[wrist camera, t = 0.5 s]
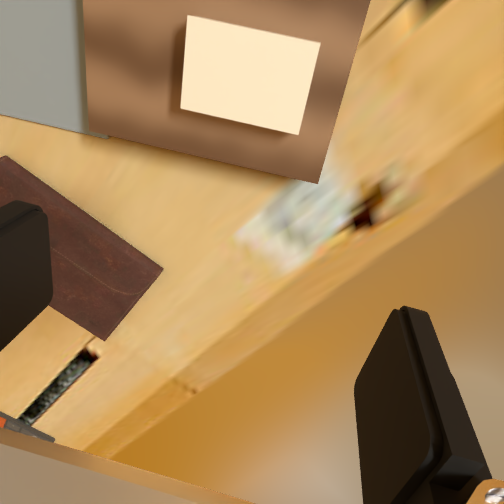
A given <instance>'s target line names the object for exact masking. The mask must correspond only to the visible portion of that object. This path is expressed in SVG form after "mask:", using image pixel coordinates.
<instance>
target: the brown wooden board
mask: <svg viewBox="0 0 504 504" xmlns="http://www.w3.org/2000/svg"><path fill="white" fill-rule="evenodd" d="M369 4H370V0H83V17H84V38H85V59H86V80H87V101H88V122H89V131H91V132H96V133H100V134H104V135H109V136H113V137H117V138H121V139H126V140H130V141H134V142H139V143H143V144H147V145H152V146H156V147H160V148H165V149H169V150H173V151H177V152H182V153H186V154H190V155H195V156H199V157H203V158H208V159H212V160H216V161H221V162H225V163H229V164H233V165H238V166H242V167H246V168H251V169H255V170H259V171H264V172H268V173H272V174H277V175H281V176H285V177H290V178H294V179H298V180H302V181H307V182H311V183H315V184H318V181H319V178H320V174H321V171H322V167H323V164H324V160H325V157H326V153H327V150H328V146H329V143H330V139H331V136H332V133H333V129H334V126H335V122H336V119H337V115H338V112H339V108H340V105H341V101H342V98H343V94H344V91H345V87H346V84H347V80H348V77H349V73H350V70H351V66H352V63H353V59H354V56H355V52H356V49H357V45H358V42H359V38H360V35H361V31H362V28H363V25H364V21H365V18H366V14H367V11H368V7H369ZM187 15H191V16H199V17H203V18H208V19H213V20H217V21H222V22H227V23H231V24H236V25H241V26H245V27H250V28H255V29H260V30H264V31H269V32H274V33H278V34H283V35H288V36H292V37H297V38H302V39H306V40H311V41H316V42H321V44H320V48H319V52H318V56H317V60H316V65H315V69H314V73H313V77H312V81H311V85H310V89H309V94H308V98H307V102H306V106H305V110H304V114H303V118H302V123H301V127H300V131H299V135H296V134H291V133H287V132H282V131H278V130H273V129H269V128H265V127H260V126H256V125H251V124H247V123H242V122H238V121H234V120H229V119H225V118H220V117H216V116H212V115H207V114H203V113H198V112H194V111H189V110H185V109H181V108H180V107H181V94H182V81H183V68H184V54H185V41H186V28H187Z"/></svg>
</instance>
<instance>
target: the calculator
mask: <svg viewBox="0 0 504 504" xmlns="http://www.w3.org/2000/svg"><path fill="white" fill-rule="evenodd" d="M0 427H1V428H5V429H8V430H12V431H15V432H18V433H22V434H25V435H29V436H32V437H35V438H39V439H42V440H45V441H49V442H52V443H53V442H54V441H55V439H54V438H53V437H51V436H49V435H47V434H45V433H43V432H41V431H39V430H37V429H35V428H33V427H31V426H29V425H27V424H25V423H23V422H20V421H18V420H16V419H14V418H12V417H10V416H8V415H6V414H4V413H2V412H0Z"/></svg>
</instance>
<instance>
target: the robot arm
mask: <svg viewBox="0 0 504 504" xmlns="http://www.w3.org/2000/svg"><path fill="white" fill-rule="evenodd" d="M52 297H53V281H52V267H51V253H50V240H49V226H48V217H47V215H46V214H45V213H43V210H42V208H41V207H40V206H38V205H35V204H31V203H27V202H24V201H20V200H14V201H12V202H10V203H8V204H6V205H4V206H2V207H0V351H1V350H2V349H4V348H5V347H6V346H7V345H8V344H9V343H10V342H11V341H12V340H13V339H14V338H15V337H16V336H17V335H18V334H19V333H20V332H21V331H22V330H23V329H24V328H25V327H26V326H27V325H28V324H29V323H30V322H32V321H33V320H34V319H35V318H36V317H37V316H38V315H39V314H40V313H41V312H42V311H43V310H44V309H45V308H46V307H47V306H48V305H49V304H50V302H51V300H52ZM354 397H355V410H356V422H357V433H358V446H359V458H360V470H361V482H362V494H363V504H504V481H502V480H497V479H492V476H491V473H490V471H489V468H488V466H487V463H486V460H485V458H484V455H483V453H482V450H481V447H480V445H479V442H478V439H477V437H476V434H475V431H474V429H473V426H472V424H471V421H470V418H469V416H468V413H467V410H466V408H465V405H464V403H463V400H462V397H461V395H460V392H459V389H458V387H457V384H456V382H455V379H454V377H453V376H452V374H451V372H450V370H449V367H448V364H447V362H446V359H445V356H444V354H443V351H442V349H441V346H440V343H439V341H438V338H437V335H436V333H435V330H434V327H433V325H432V322H431V320H430V317H429V315H428V313H427V312H425V311H422V310H418V309H414V308H411V307H407V306H402V307H401V308H400V310H397V309H394V310H393V311H392V312H391V314H390V315H389V318H388V319H387V322H386V323H385V326H384V327H383V329H382V331H381V333H380V335H379V337H378V339H377V341H376V342H375V344H374V346H373V348H372V350H371V352H370V354H369V356H368V358H367V360H366V362H365V363H364V365H363V367H362V369H361V371H360V373H359V375H358V377H357V379H356V382H355V386H354ZM0 504H255V503H252V502H249V501H246V500H242V499H239V498H236V497H232V496H229V495H226V494H223V493H219V492H216V491H212V490H209V489H206V488H203V487H199V486H196V485H193V484H189V483H186V482H183V481H180V480H176V479H173V478H170V477H166V476H163V475H160V474H156V473H153V472H150V471H146V470H143V469H139V468H136V467H132V466H129V465H126V464H123V463H120V462H116V461H113V460H109V459H106V458H103V457H99V456H96V455H93V454H89V453H86V452H83V451H79V450H76V449H72V448H69V447H66V446H62V445H59V444H56V443H52V442H49V441H45V440H42V439H39V438H35V437H32V436H29V435H25V434H22V433H18V432H15V431H12V430H8V429H5V428H1V427H0Z"/></svg>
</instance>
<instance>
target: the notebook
mask: <svg viewBox="0 0 504 504" xmlns="http://www.w3.org/2000/svg"><path fill="white" fill-rule="evenodd" d="M14 200H20V201H24V202H27V203H31V204H35V205H38V206H40V207H41V208H42V210H43V213H45V214H46V215H47V217H48V226H49V240H50V253H51V267H52V281H53V297H52V300H51V302H50V304H49V306H51V307H52V308H54V309H55V310H57V311H58V312H60V313H61V314H63V315H64V316H66V317H68V318H69V319H71V320H72V321H74V322H75V323H77V324H78V325H80V326H81V327H83V328H85V329H86V330H88V331H89V332H91V333H92V334H94V335H95V336H97V337H98V338H100V339H101V340H103V341H105V340H106V339H107V338H108V337H109V336H110V334H111V333H112V332H113V331H114V330H115V328H116V327H117V326H118V325H119V323H120V322H121V321H122V320H123V319H124V317H125V316H126V315H127V314H128V313H129V311H130V310H131V309H132V308H133V307H134V305H135V304H136V303H137V302H138V300H139V299H140V298H141V297H142V296H143V294H144V293H145V292H146V291H147V290H148V289H149V287H150V286H151V285H152V284H153V282H154V281H155V280H156V279H157V278H158V276H159V275H160V274H161V272H162V271H163V268H162V267H161V266H159V265H158V264H156V263H155V262H154V261H152V260H151V259H150V258H148V257H147V256H145V255H144V254H143V253H141V252H140V251H138V250H137V249H136V248H134V247H133V246H131V245H130V244H129V243H127V242H126V241H125V240H123V239H122V238H120V237H119V236H118V235H116V234H115V233H113V232H112V231H111V230H109V229H108V228H106V227H105V226H104V225H102V224H101V223H99V222H98V221H97V220H95V219H94V218H93V217H91V216H90V215H88V214H87V213H86V212H84V211H83V210H81V209H80V208H79V207H77V206H76V205H74V204H73V203H72V202H70V201H69V200H67V199H66V198H65V197H63V196H62V195H61V194H59V193H58V192H56V191H55V190H54V189H52V188H51V187H49V186H48V185H47V184H45V183H44V182H42V181H41V180H40V179H38V178H37V177H35V176H34V175H33V174H31V173H30V172H29V171H27V170H26V169H24V168H23V167H22V166H20V165H19V164H17V163H16V162H15V161H13V160H12V159H10V158H9V157H8V156H3V157H1V158H0V207H2V206H4V205H6V204H8V203H10V202H12V201H14Z"/></svg>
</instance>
